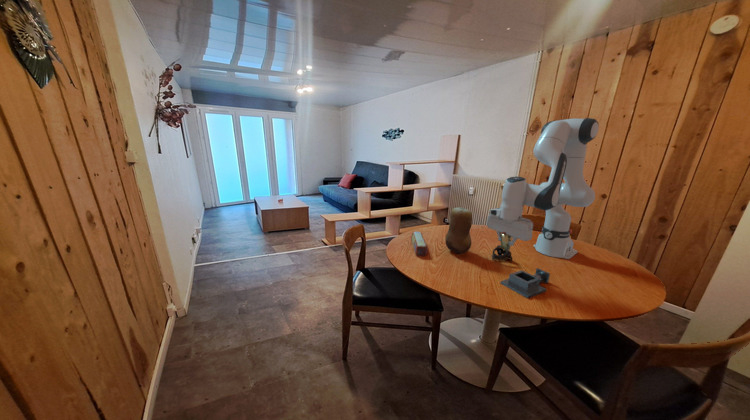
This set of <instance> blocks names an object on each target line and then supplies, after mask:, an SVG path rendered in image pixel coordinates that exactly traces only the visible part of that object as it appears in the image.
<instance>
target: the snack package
mask: <svg viewBox="0 0 750 420" xmlns="http://www.w3.org/2000/svg"><path fill="white" fill-rule="evenodd" d="M410 241H411V242H412V245H413V248H414V254H415V256H416V257H425V256H427V254H428V246H427V243H426V240H425V239H424V236H423V233H422V232H420V231H412V233H411V240H410Z"/></svg>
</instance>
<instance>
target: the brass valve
mask: <svg viewBox="0 0 750 420" xmlns="http://www.w3.org/2000/svg"><path fill="white" fill-rule="evenodd" d="M501 234H502V238H501V241H500V244H499V245H500V248H501V249H503V250H509V251H510V249H511V245H509V241H512V240H513V239H512V236H510V235H507V234H506V232H502V233H501Z"/></svg>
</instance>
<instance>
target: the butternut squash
mask: <svg viewBox="0 0 750 420" xmlns="http://www.w3.org/2000/svg"><path fill="white" fill-rule="evenodd" d="M449 218H450V219H449V223H448V230H447V232H446V234H445V246H446V247H447V248H448V250H450V251H451V252H454V254H456V255H460V254H461V255H462V254H465V253H468V252H469V251H470V249H471V248H472V243H473V242H472V236H471V233H470V232H471V228H472V225H473V224H472V223H473V214H472V211H470V210H469V209H467V208H464V207H454V208H452V210H451V211H450V215H449Z"/></svg>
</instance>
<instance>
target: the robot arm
mask: <svg viewBox="0 0 750 420" xmlns="http://www.w3.org/2000/svg"><path fill="white" fill-rule="evenodd" d="M599 124H600V123H599V122H598V120H597V119H596V118H592V117H591V118H590V117H585V118H575V117H574V118H568V119H566V118H565V119H558V120H552V121H548V122H545V124H544V125H543V126H542V127H541V130H540V135H539V137H538V138H537V141H536V142H535V145H534V147H533V150H532V151H533V155H534V158H535V159H536V160H537V161H539V162H540V163H542V164H543V165H545V166H547V167H550V168H551V170H550V174H549V177H548V179H547V180H548V181H544V182H541V183H539V184H532V183H528V182H527V178H525V177H524V176H510V177H508V178H506V180H505V181H504V184H503V187H502V193H501V204H500V206H499V207H498V208H492V209H489V210H488V213H489V214H488V215H487V218H486V219H487V220H486V226H487V228H488V229H491V230H493V231H496V236H497V237H498V238H497V241H499V242H501V238H502V232H506V234H507V235H510V236H512V239H511V241H509V245H510V247H513V246H514V245H515V242H516V241H518V240H521V241H524V242H527V241H531V240H532V239H533V228H534V222H533V221H532V220H531V219H529V218H526V217H523V211H524V206H527V207H532V208H536V209H539V210H542V211H544V212H545V219H544V223H543V224H544V225H543V226H542V228H541V233H540V234H539V233H538V237H537V240H536V243H535V244H533V247H534V248H535V250H536V251H537V252H539V253H540V254H542V255H544V256H548V257H552V258H559V259H560V258H562V259H567V260H570V259H571V258H572V257H574V256H575V255H577V254H578V250H577V249H575V248H574V244H575V243H574V241H573V240H572V239H571V238H570V234H572V233H573V230H572V229H570V226H571V222H572V216H571V214H570V213H569V212H568V211H566V210H565V208H564V207H563V206H570V207H575V208H576V207H577V208H586V207H589V206H590V205H592V203H594V201H595V199H596V192H595V190H594V189H593V188H592V187H591V186H590V185H588V183H587V182H586V180H585V176H584V166H585V160H586V155H587V149H588V147H587V145H588V143H589V142H592V140H594V139H595V138H596V136H597V135H598V132H599V130H600V129H599V126H600V125H599ZM563 181H564V182H563ZM523 205H524V206H523Z"/></svg>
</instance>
